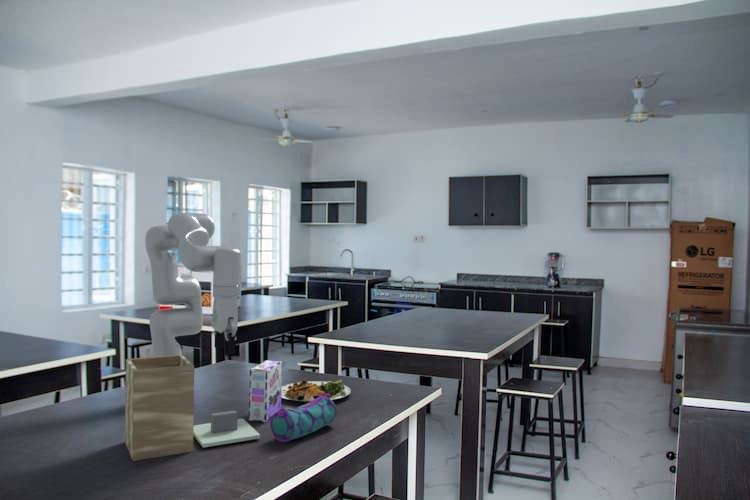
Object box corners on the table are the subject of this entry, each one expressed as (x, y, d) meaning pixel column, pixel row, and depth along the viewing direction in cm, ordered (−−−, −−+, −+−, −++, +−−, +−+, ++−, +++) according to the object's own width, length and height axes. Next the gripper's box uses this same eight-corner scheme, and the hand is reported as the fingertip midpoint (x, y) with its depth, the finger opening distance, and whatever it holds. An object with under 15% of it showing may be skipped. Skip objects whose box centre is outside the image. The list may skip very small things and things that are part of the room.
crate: (124, 442, 162) (125, 359, 161) (180, 433, 170) (181, 354, 169) (132, 461, 149) (133, 371, 149) (193, 451, 157) (194, 365, 156)
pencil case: (292, 447, 162) (293, 412, 162) (268, 440, 167) (269, 406, 166) (337, 426, 179) (338, 395, 179) (315, 421, 184) (315, 390, 184)
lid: (189, 432, 172) (189, 409, 171) (242, 424, 180) (243, 402, 179) (202, 451, 158) (203, 425, 158) (260, 441, 166) (260, 417, 166)
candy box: (265, 423, 181) (266, 370, 180) (248, 421, 182) (248, 368, 182) (281, 409, 195) (282, 360, 194) (265, 408, 196) (266, 359, 195)
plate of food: (365, 393, 217) (365, 377, 217) (318, 411, 193) (318, 392, 193) (307, 384, 232) (307, 368, 232) (256, 399, 209) (256, 382, 209)
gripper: (205, 288, 173) (204, 345, 174) (221, 295, 158) (220, 358, 159) (230, 287, 177) (229, 343, 177) (248, 294, 162) (247, 356, 163)
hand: (224, 350), depth 168 cm, fingers open, 9 cm apart
